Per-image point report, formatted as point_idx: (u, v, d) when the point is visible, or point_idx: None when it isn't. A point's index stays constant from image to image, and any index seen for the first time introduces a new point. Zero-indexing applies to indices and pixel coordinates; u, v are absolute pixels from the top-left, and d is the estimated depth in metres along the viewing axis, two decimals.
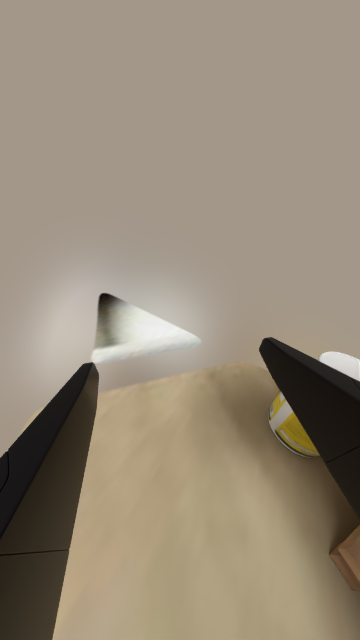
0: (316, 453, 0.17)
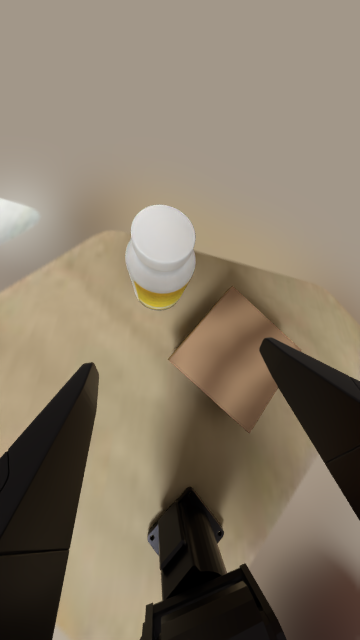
0: (167, 306, 0.21)
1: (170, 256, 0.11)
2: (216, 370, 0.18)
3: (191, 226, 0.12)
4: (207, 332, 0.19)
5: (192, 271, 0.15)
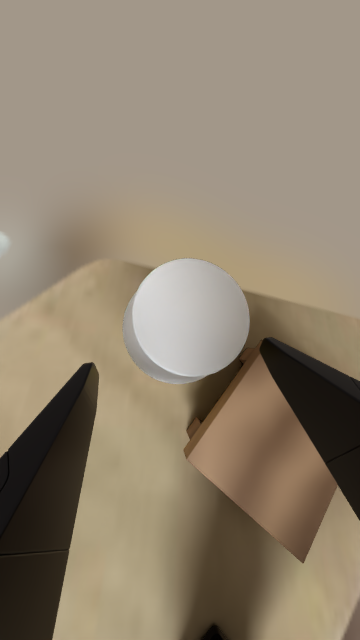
0: None
1: (206, 362, 0.06)
2: (253, 468, 0.13)
3: (241, 296, 0.07)
4: (238, 410, 0.13)
5: None
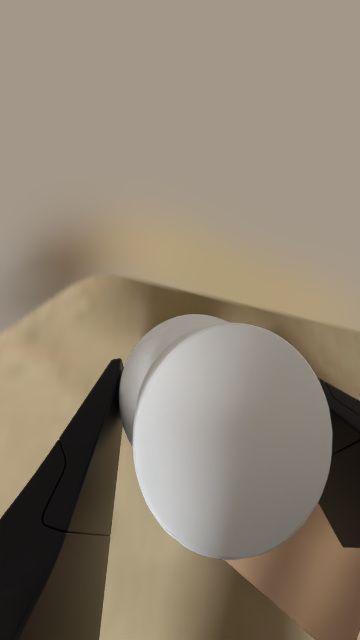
0: None
1: (269, 526, 0.03)
2: (284, 545, 0.10)
3: (317, 386, 0.04)
4: None
5: None
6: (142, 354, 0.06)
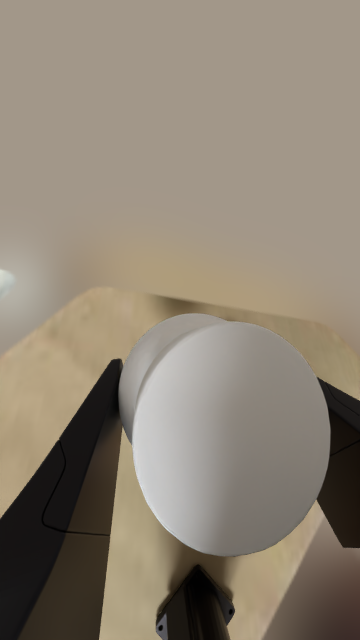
0: None
1: (268, 522, 0.03)
2: None
3: (315, 384, 0.04)
4: None
5: None
6: (141, 353, 0.06)
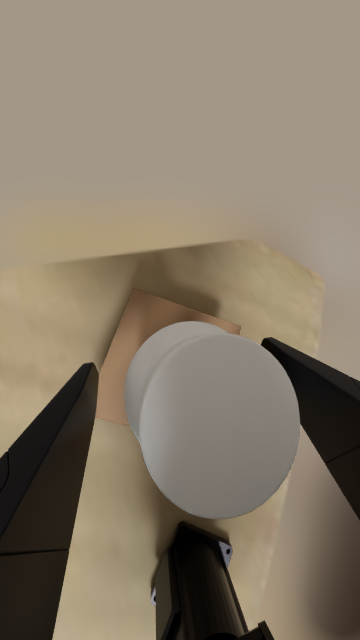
0: None
1: (246, 493, 0.04)
2: None
3: (288, 384, 0.05)
4: (120, 358, 0.15)
5: None
6: (144, 357, 0.07)
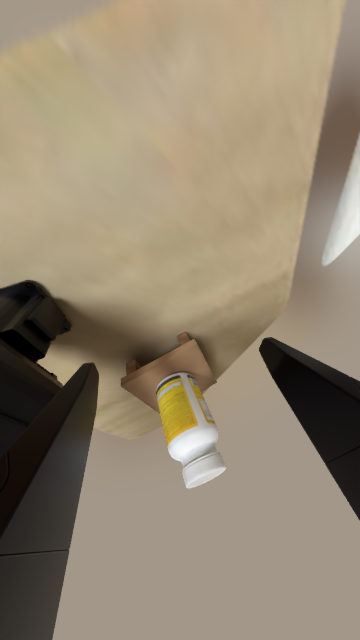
0: (159, 395, 0.23)
1: (194, 481, 0.16)
2: (174, 370, 0.24)
3: None
4: (200, 367, 0.26)
5: (172, 456, 0.19)
6: (217, 438, 0.20)
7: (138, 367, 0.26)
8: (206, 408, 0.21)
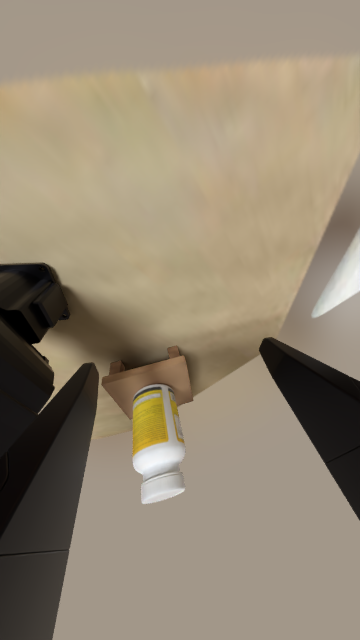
0: (136, 403, 0.23)
1: (151, 498, 0.16)
2: (156, 381, 0.24)
3: (151, 502, 0.18)
4: (182, 383, 0.26)
5: (134, 467, 0.19)
6: None
7: (122, 369, 0.26)
8: (179, 425, 0.21)
